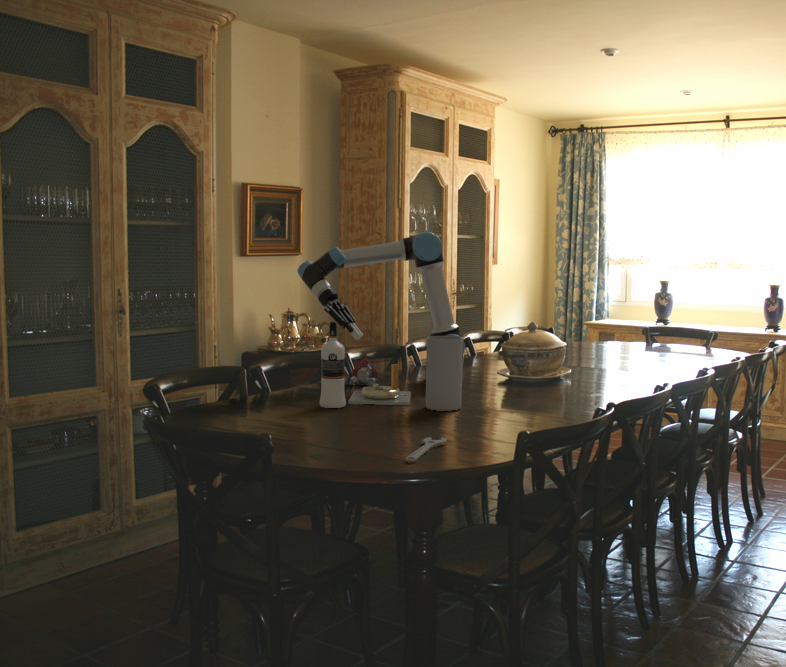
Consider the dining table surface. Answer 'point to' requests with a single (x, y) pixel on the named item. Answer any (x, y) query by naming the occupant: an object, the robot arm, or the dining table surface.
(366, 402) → the base plate
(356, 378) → the brake caliper
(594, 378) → the dining table surface
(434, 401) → the cylinder vase
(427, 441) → the adjustable wrench
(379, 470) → the dining table surface
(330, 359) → the vodka
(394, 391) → the cream rounded piece
